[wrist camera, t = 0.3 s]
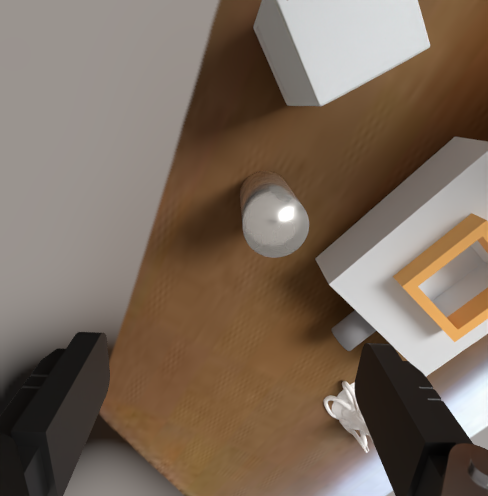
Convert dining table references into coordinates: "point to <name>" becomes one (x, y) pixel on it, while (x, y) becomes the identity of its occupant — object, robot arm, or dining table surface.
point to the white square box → (419, 261)
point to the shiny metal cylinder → (272, 215)
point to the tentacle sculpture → (349, 413)
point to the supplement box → (336, 44)
